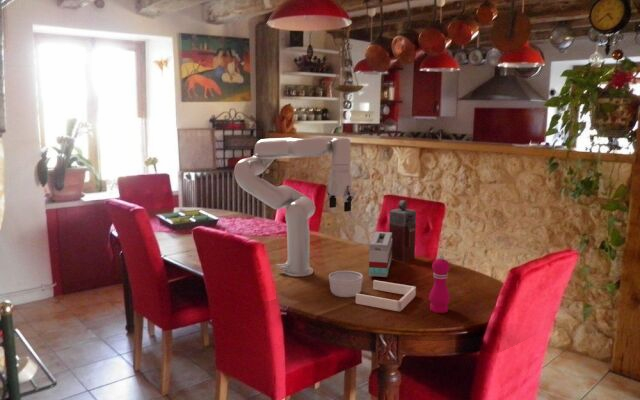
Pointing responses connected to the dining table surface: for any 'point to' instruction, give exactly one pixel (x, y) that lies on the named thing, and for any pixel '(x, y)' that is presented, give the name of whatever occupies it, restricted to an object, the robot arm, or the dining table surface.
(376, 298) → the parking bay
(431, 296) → the pepper mill
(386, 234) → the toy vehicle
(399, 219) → the square decanter
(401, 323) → the dining table surface
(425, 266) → the dining table surface
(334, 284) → the ramekin
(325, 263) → the dining table surface
